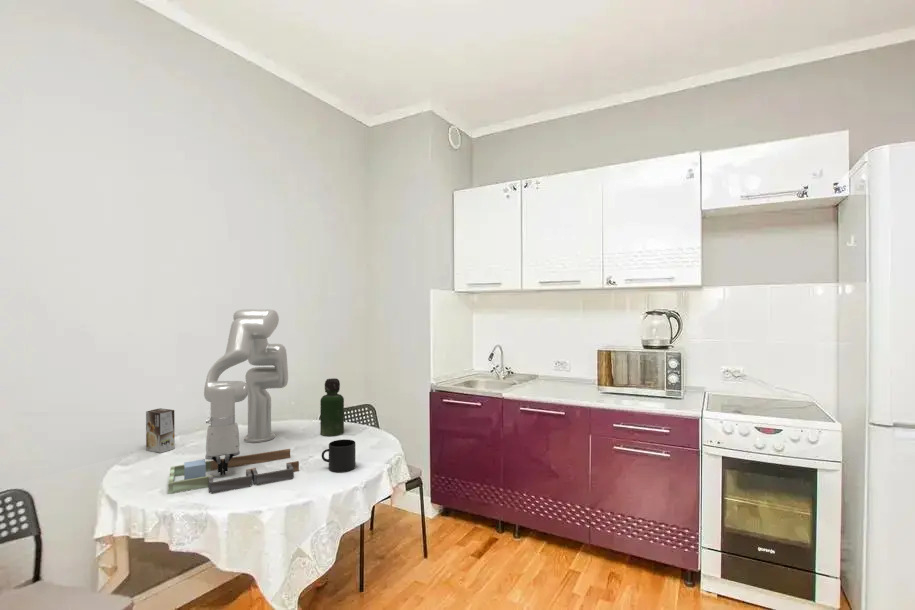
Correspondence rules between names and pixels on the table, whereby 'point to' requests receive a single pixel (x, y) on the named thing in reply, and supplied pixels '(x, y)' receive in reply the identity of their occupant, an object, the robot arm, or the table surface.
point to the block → (194, 469)
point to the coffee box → (160, 430)
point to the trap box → (235, 482)
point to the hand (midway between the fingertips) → (222, 473)
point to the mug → (341, 455)
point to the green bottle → (332, 409)
